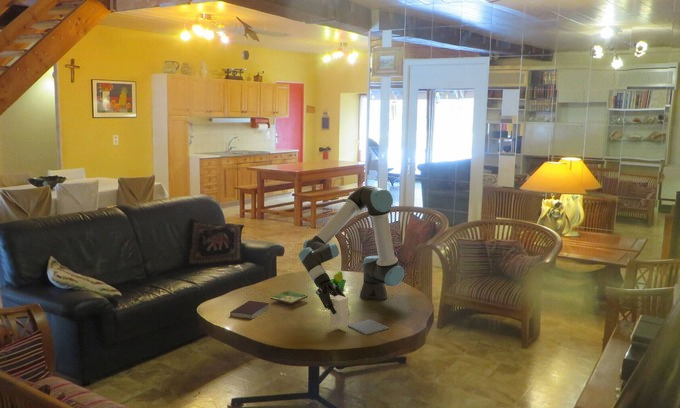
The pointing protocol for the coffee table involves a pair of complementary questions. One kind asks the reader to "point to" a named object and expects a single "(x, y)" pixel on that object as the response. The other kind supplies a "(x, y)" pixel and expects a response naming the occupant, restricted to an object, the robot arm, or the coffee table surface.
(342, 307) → the cream block
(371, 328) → the slate mat
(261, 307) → the book
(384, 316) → the coffee table surface
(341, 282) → the fruit basket
